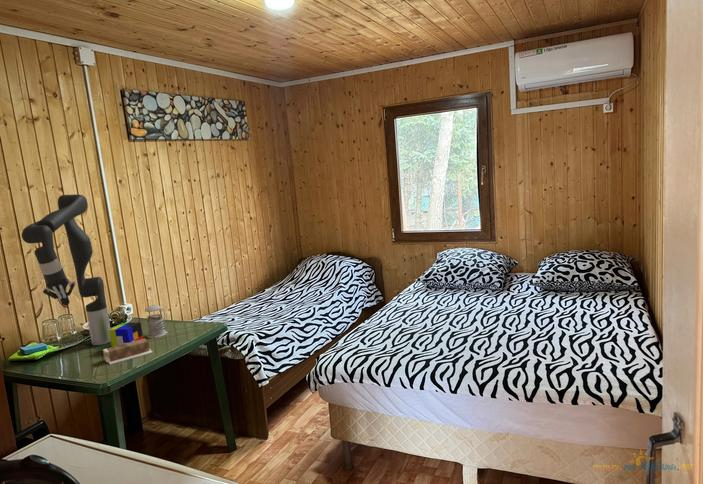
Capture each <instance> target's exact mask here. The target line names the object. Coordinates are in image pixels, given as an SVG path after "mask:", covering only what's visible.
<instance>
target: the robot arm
mask: <svg viewBox="0 0 703 484" xmlns="http://www.w3.org/2000/svg"><path fill="white" fill-rule="evenodd" d="M88 203H89V202H88V199H87V198H86V197H85V196H84V195H83V194H76V193H75V194H63V195H59V196H58V198H57V208H58V209H57V210H54V211H52V212H50V213H48V214H47V215H45V216H44V217H43V218H41V219H39V220H38V221H35V222H33V223H31V224H29V225H27V226H25V228H23V230H22V232H21V238H22V240H23V241H24V242H25V243H27V244H31V245H32V244H41V245H42V246H39V247H37V248H36V249H34V255H35V258H36V260H37V263H38V265H39V269H40V272H41V274H42V276H43V277H44V280H45V284H46V287H44V289H43V290H42V293H43V294H44V295H46V296H47V297H50V298H52V299H55V300H60V303H61V305H62V306H64V307H65V306H69V304H70V301H71V300H70V298H69V296H71V294H72V292H73V290H74V288H75V285H76V282H77V289H78V292H79V293H78V294H79V296H81V298H90V297H97V298H96V299H95V300H93V301H92V302H89V303H87V304H86V305H85V313H86V318H87V322H88V327H89V334H90V340H91V345H92V346H101V345H105V344H108V343H111V340H110V334H109V329H111V322H110V318H109V312H108V308H107V307H108V306H107V301H106V293H105V285H104V280H103V278H102V277H101V276H94V277H87V278H86V277H85V274H86V273H85V272H86V269H87V266H88V265H89V262H90V260H91V259H92V255H93V252H94V251H93V246H92V242H91V238H90V237H89V235H88V234H87V233H86V232H85V231H84V230H83V229H82V228H81V227H80V225H79V224H78V223H77V221H76V219H75V218H76V217H78V216H80V215H82V214H84V213H85V212H86V211H87V210H88V205H89V204H88ZM62 226H64V228H65V233H66V237H67V240H68V241H67V242H68V246H69V250H70V255H71V259H72V262H73V265H74V270H75V277H76V282H75V281H70V280H69V278H67V275H66V273H65V271H64V268H63V266H62V263H61V261H60V260H59V258H58V255H57V253H56V251H55V247H54V233H55V232H56V231H57V230H58V229H60V228H61V227H62ZM67 287H68V288H69V289H68V291H67Z"/></svg>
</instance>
